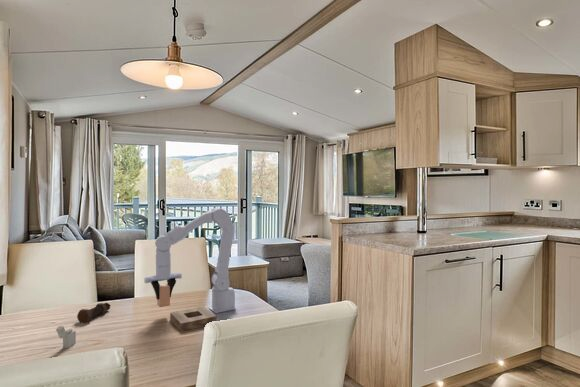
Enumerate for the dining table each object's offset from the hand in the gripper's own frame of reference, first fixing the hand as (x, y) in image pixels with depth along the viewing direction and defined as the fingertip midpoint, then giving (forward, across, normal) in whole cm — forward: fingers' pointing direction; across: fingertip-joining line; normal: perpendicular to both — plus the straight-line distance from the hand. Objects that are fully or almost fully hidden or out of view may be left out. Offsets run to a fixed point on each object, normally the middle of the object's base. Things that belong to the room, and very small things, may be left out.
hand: (163, 297), depth 153 cm
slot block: (+8, -8, +13) cm, 17 cm away
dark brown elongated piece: (+8, +23, -16) cm, 29 cm away
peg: (+3, 0, 0) cm, 3 cm away
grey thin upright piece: (+8, +35, +12) cm, 38 cm away
